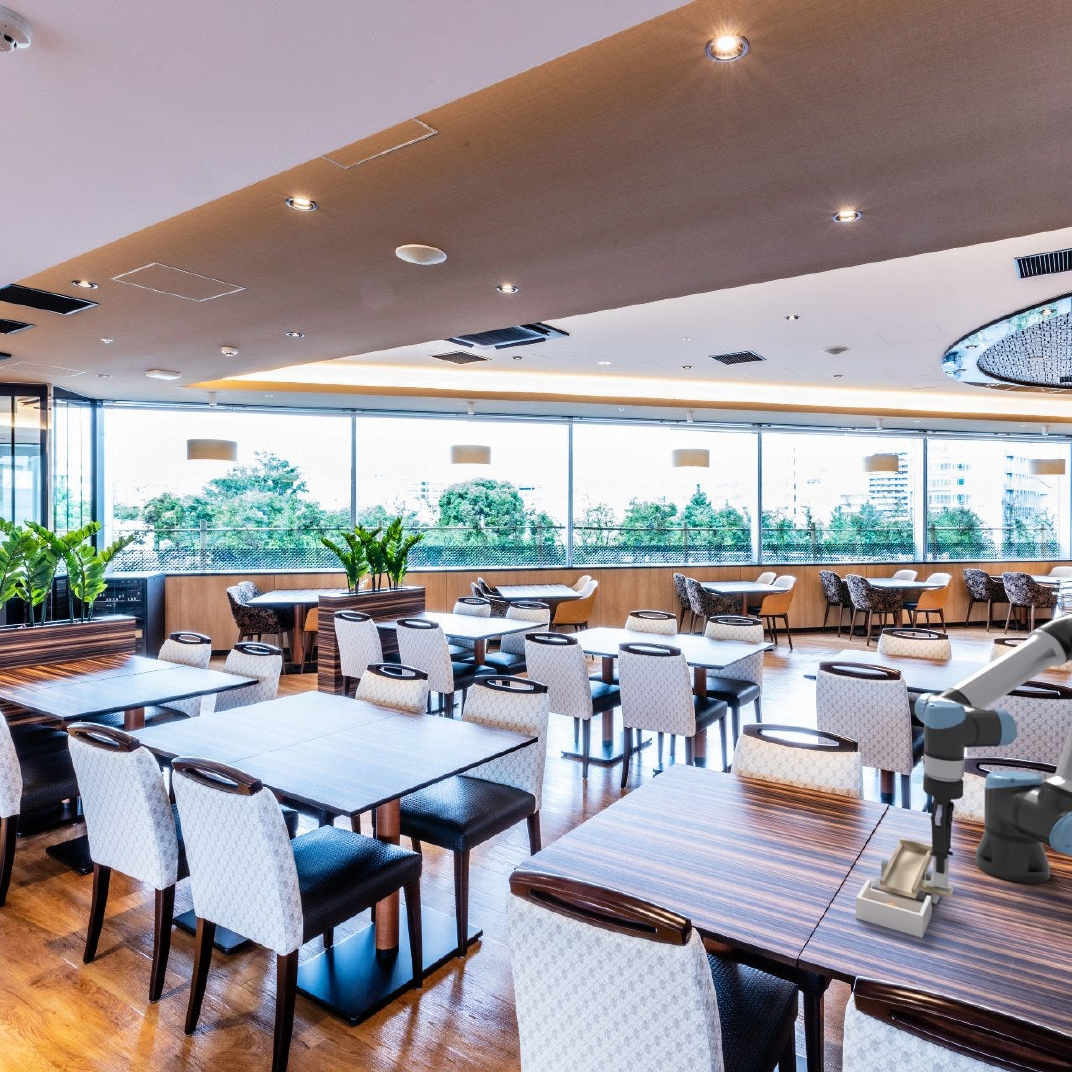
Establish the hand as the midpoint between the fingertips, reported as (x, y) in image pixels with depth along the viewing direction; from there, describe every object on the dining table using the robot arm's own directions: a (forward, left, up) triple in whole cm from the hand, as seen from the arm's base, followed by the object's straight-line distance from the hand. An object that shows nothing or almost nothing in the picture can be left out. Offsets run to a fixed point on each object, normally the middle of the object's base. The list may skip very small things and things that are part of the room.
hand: (940, 885), depth 163 cm
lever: (+5, -6, -1) cm, 7 cm away
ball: (+7, +11, -3) cm, 14 cm away
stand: (+7, -4, -5) cm, 10 cm away
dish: (+7, +9, -5) cm, 12 cm away
